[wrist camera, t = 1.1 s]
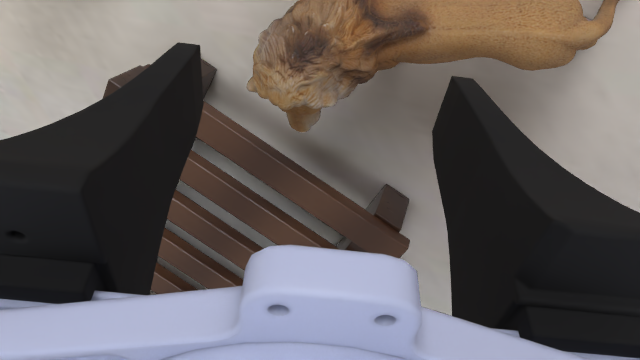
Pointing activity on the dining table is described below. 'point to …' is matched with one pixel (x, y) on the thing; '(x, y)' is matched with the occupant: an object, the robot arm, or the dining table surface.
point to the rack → (259, 205)
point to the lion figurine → (407, 43)
